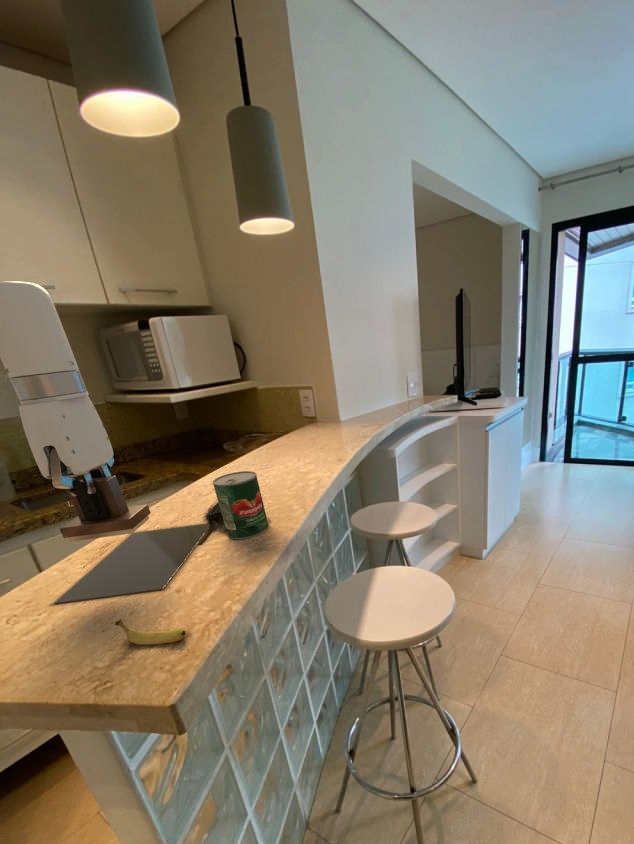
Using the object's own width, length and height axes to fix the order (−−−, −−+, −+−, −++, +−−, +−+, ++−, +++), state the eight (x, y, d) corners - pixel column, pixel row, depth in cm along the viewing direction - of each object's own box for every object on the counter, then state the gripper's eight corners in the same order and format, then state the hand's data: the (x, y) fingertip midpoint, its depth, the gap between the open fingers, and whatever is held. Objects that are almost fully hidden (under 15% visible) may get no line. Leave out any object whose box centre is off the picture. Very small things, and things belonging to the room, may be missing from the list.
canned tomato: (240, 522, 84) (227, 471, 80) (275, 521, 82) (263, 469, 78) (219, 540, 77) (203, 485, 73) (257, 540, 75) (243, 484, 71)
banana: (122, 651, 50) (110, 625, 48) (131, 642, 51) (119, 616, 50) (185, 648, 49) (175, 621, 47) (192, 638, 51) (183, 612, 49)
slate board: (56, 608, 61) (53, 603, 60) (134, 537, 83) (132, 533, 82) (165, 594, 61) (163, 588, 61) (213, 527, 83) (212, 522, 83)
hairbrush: (246, 475, 105) (241, 503, 82) (249, 489, 107) (245, 520, 84) (213, 482, 103) (198, 512, 81) (216, 495, 105) (203, 529, 82)
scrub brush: (65, 543, 60) (41, 492, 56) (89, 526, 65) (69, 478, 62) (134, 533, 60) (114, 482, 57) (152, 517, 65) (135, 470, 62)
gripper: (62, 386, 62) (108, 498, 69) (-29, 400, 47) (42, 542, 54) (112, 380, 62) (153, 493, 69) (38, 392, 47) (99, 534, 54)
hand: (104, 513), depth 61 cm, fingers closed on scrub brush, 2 cm apart
